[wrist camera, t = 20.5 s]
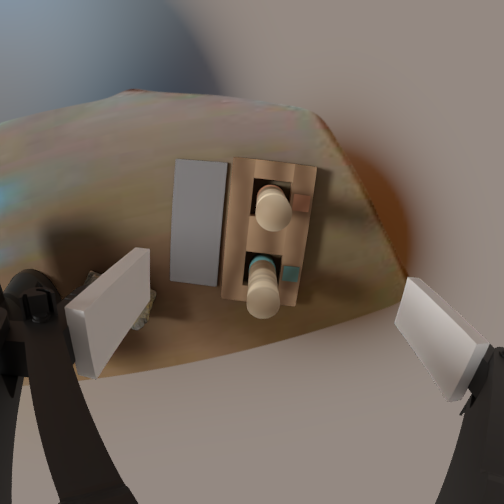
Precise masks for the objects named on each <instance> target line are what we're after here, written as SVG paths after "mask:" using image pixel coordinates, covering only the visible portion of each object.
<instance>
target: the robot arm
mask: <svg viewBox="0 0 504 504" xmlns="http://www.w3.org/2000/svg"><path fill="white" fill-rule="evenodd" d="M149 301H150V249H146V248H138V247H135V248H134V249H133V250H132V251H130V252H129V253H128V254H127V255H125V256H124V257H123V258H122V259H120V260H119V261H118V262H117V263H115V264H114V265H113V266H112V267H111V268H109V269H108V270H107V271H106V272H105V273H103V274H102V275H101V276H100V277H99V278H97V279H96V280H95V281H94V282H93V283H92V284H90V285H89V284H85V285H83V286H81V287H78V288H76V289H75V290H74V291H73V292H71V293H70V295H68V296H67V297H65V299H63V300H61V297H60V295H59V293H58V291H57V290H56V288H55V287H54V285H53V284H52V283H51V281H50V280H49V279H48V278H47V277H46V276H44V275H43V274H42V273H40V272H38V271H36V270H32V269H26V270H23V271H21V272H19V273H18V274H16V275H15V276H14V277H13V278H12V280H11V281H10V283H9V284H8V286H7V287H6V289H5V290H4V292H3V291H2V288H1V285H0V504H11V503H12V499H11V488H12V483H11V482H12V462H13V448H14V438H15V428H16V421H17V413H18V407H19V401H20V395H21V389H22V384H23V379H24V377H29V382H30V389H31V394H32V400H33V406H34V411H35V416H36V420H37V425H38V429H39V433H40V437H41V441H42V445H43V448H44V452H45V456H46V459H47V463H48V466H49V469H50V472H51V475H52V479H53V481H54V484H55V487H56V490H57V493H58V496H59V498H60V503H58V504H138V502H137V501H136V499H135V497H134V496H133V494H132V493H131V491H130V489H129V488H128V487H127V486H126V485H125V484H124V482H123V480H122V479H121V477H120V475H119V473H118V471H117V469H116V468H115V466H114V464H113V462H112V460H111V458H110V456H109V454H108V452H107V450H106V448H105V446H104V443H103V441H102V439H101V437H100V435H99V432H98V430H97V428H96V426H95V423H94V421H93V419H92V417H91V414H90V411H89V409H88V407H87V404H86V402H85V399H84V397H83V394H82V391H81V388H80V385H79V383H78V380H77V377H76V374H75V371H74V368H73V364H74V362H75V364H76V368H77V372H78V375H82V376H85V377H89V378H92V379H97V378H98V376H99V375H100V373H101V371H102V370H103V368H104V367H105V365H106V364H107V362H108V361H109V359H110V358H111V356H112V355H113V353H114V352H115V350H116V349H117V347H118V346H119V344H120V343H121V341H122V340H123V338H124V337H125V335H126V334H127V333H128V331H129V330H130V328H131V327H132V325H133V324H134V322H135V321H136V319H137V318H138V317H139V315H140V314H141V312H142V311H143V309H144V308H145V307H146V305H147V304H148V302H149ZM394 324H395V325H396V327H397V328H398V329H399V331H400V332H401V333H402V335H403V336H404V337H405V339H406V341H407V342H408V344H409V345H410V346H411V348H412V349H413V351H414V352H415V354H416V355H417V356H418V358H419V360H420V361H421V362H422V364H423V365H424V367H425V368H426V370H427V371H428V373H429V374H430V376H431V377H432V379H433V380H434V382H435V383H436V385H437V386H438V388H439V390H440V391H441V392H442V394H443V396H444V397H445V399H446V400H447V402H452V401H458V400H461V399H462V397H463V396H464V394H465V392H466V390H467V389H469V390H470V391H471V393H472V394H471V396H470V398H469V399H468V401H467V403H466V405H465V406H464V408H463V410H462V411H461V413H460V415H462V414H463V413H465V414H464V418H463V422H462V427H461V430H460V434H459V437H458V441H457V444H456V448H455V451H454V454H453V457H452V460H451V463H450V466H449V469H448V472H447V475H446V478H445V480H444V483H443V486H442V488H441V491H440V493H439V496H438V498H437V501H436V503H435V504H504V348H503V347H497V348H495V349H494V348H493V347H492V345H491V344H490V343H489V342H488V341H487V340H486V339H485V338H484V337H483V336H482V335H481V334H480V333H479V332H478V331H477V330H476V329H475V328H474V327H473V326H472V325H471V324H470V323H469V322H468V321H467V320H465V319H464V318H463V317H462V316H461V315H460V314H459V313H458V312H457V311H456V310H455V309H454V308H453V307H451V306H450V305H449V304H448V303H447V302H446V301H445V300H444V299H443V298H441V297H440V296H439V295H438V294H437V293H436V292H435V291H434V290H432V289H431V288H430V287H429V286H428V285H427V284H426V283H425V282H423V281H422V280H421V279H420V278H413V277H408V278H407V282H406V286H405V289H404V293H403V296H402V300H401V303H400V306H399V310H398V313H397V316H396V319H395V322H394Z"/></svg>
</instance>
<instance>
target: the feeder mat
mask: <svg viewBox="0 0 504 504" xmlns="http://www.w3.org/2000/svg"><path fill="white" fill-rule="evenodd" d="M227 166H228V163H224V162H212V161H199V160H185V159H176V164H175V176H174V190H173V206H172V226H171V252H170V281H176V282H184V283H191V284H199V285H207V286H215V287H217V279H218V266H219V253H220V241H221V229H222V218H223V207H224V196H225V186H226V176H227Z"/></svg>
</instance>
